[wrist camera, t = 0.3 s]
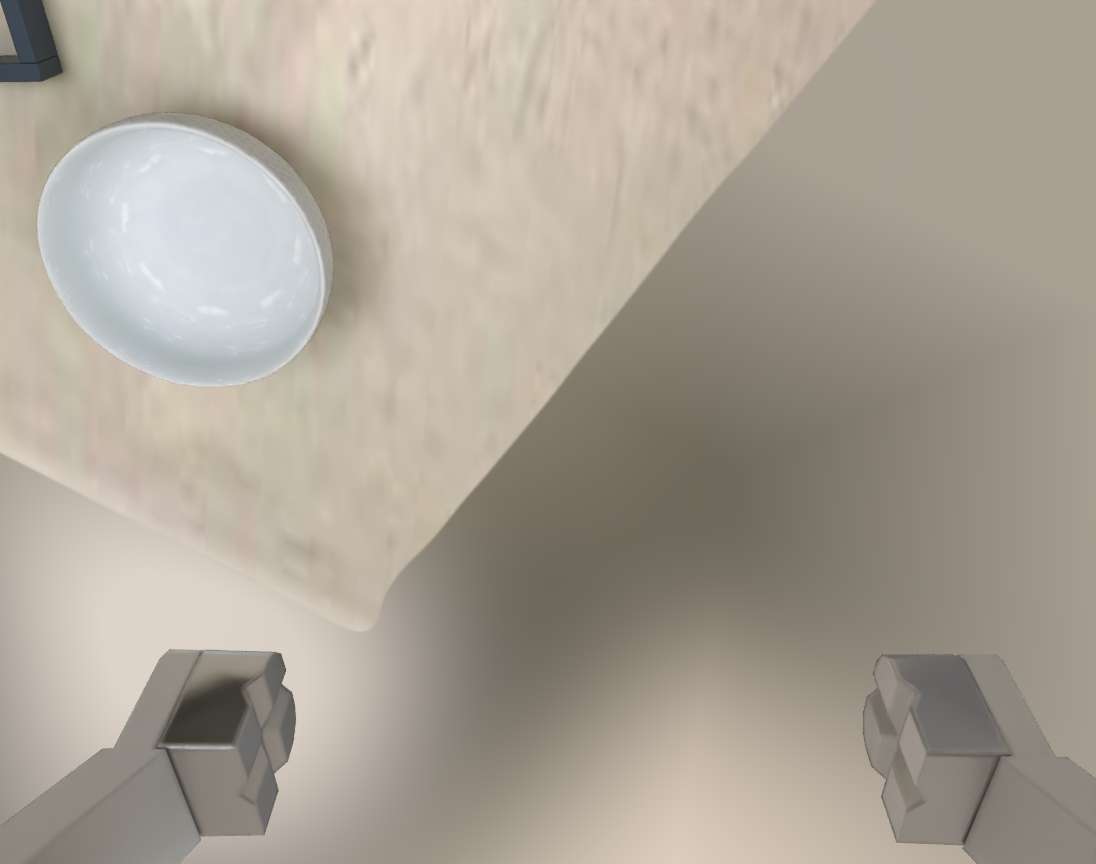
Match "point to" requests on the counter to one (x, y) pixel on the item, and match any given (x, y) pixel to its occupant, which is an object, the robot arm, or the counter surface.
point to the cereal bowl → (186, 249)
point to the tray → (29, 43)
